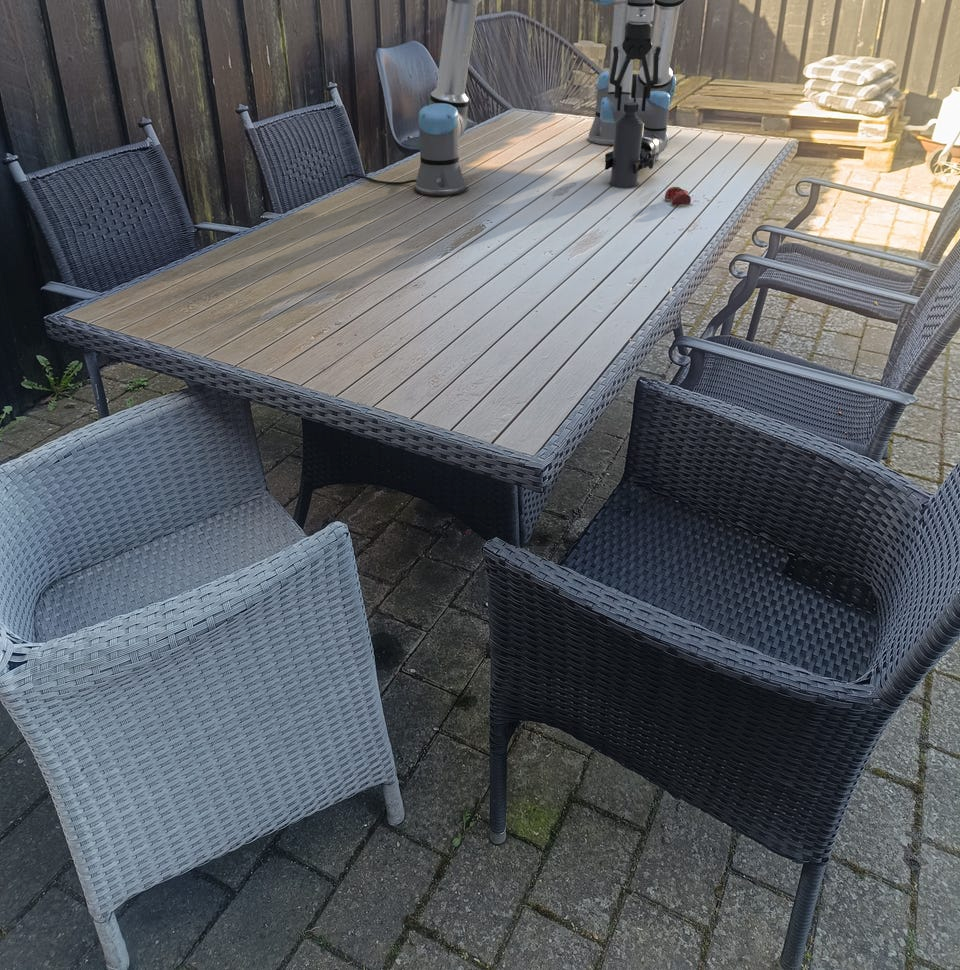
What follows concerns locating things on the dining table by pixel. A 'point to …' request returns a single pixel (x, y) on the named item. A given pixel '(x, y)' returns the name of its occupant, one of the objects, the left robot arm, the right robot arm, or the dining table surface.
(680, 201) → the dental model
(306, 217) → the dining table surface
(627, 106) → the cap
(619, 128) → the bottle
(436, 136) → the left robot arm
